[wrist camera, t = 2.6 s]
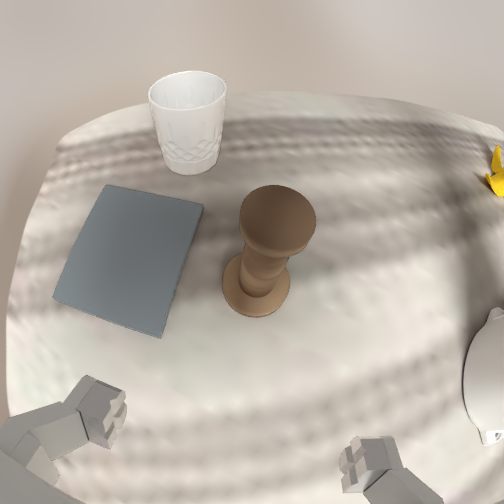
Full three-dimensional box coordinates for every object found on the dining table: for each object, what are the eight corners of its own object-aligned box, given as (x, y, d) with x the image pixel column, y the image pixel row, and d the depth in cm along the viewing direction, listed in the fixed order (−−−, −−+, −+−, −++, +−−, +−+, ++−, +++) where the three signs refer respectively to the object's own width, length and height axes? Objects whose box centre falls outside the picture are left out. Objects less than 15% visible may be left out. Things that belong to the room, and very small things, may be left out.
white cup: (236, 158, 34) (243, 90, 25) (183, 191, 31) (175, 120, 22) (197, 127, 36) (196, 64, 27) (147, 154, 33) (134, 89, 24)
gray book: (203, 208, 30) (203, 204, 30) (160, 338, 24) (159, 337, 23) (107, 189, 30) (105, 184, 30) (55, 300, 24) (52, 297, 23)
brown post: (290, 264, 29) (331, 189, 18) (280, 323, 26) (324, 275, 15) (231, 250, 29) (239, 166, 18) (215, 308, 26) (213, 248, 15)
